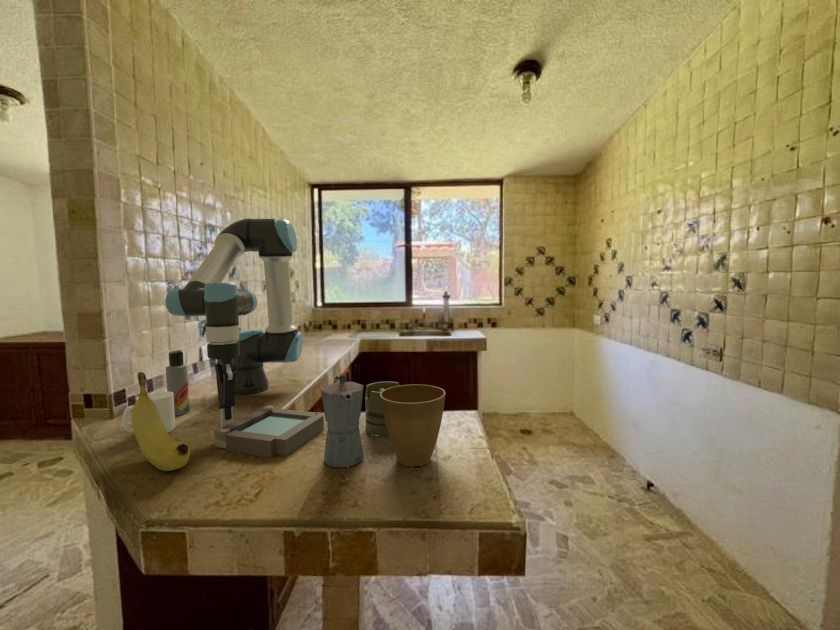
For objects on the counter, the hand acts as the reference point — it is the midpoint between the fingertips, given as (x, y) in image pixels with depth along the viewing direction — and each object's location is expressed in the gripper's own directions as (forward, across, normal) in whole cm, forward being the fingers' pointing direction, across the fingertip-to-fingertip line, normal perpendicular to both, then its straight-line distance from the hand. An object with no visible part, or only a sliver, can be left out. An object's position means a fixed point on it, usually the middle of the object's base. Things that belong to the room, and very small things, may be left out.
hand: (227, 430), depth 97 cm
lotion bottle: (+3, +32, +8) cm, 33 cm away
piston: (+2, -21, -36) cm, 42 cm away
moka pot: (+2, -30, -18) cm, 35 cm away
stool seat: (+2, -9, -11) cm, 14 cm away
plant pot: (+2, -40, -31) cm, 51 cm away
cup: (+3, +17, +16) cm, 24 cm away
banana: (+2, -6, +15) cm, 16 cm away
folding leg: (+2, 0, -5) cm, 6 cm away
